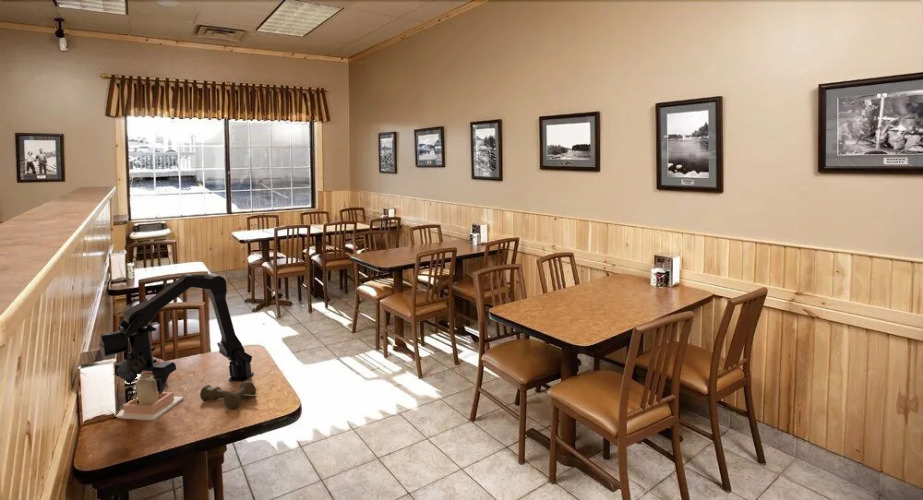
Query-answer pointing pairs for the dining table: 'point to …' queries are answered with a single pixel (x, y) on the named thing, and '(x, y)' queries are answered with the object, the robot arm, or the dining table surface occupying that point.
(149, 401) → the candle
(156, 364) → the cupcake
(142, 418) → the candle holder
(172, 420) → the dining table surface
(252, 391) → the kendama
